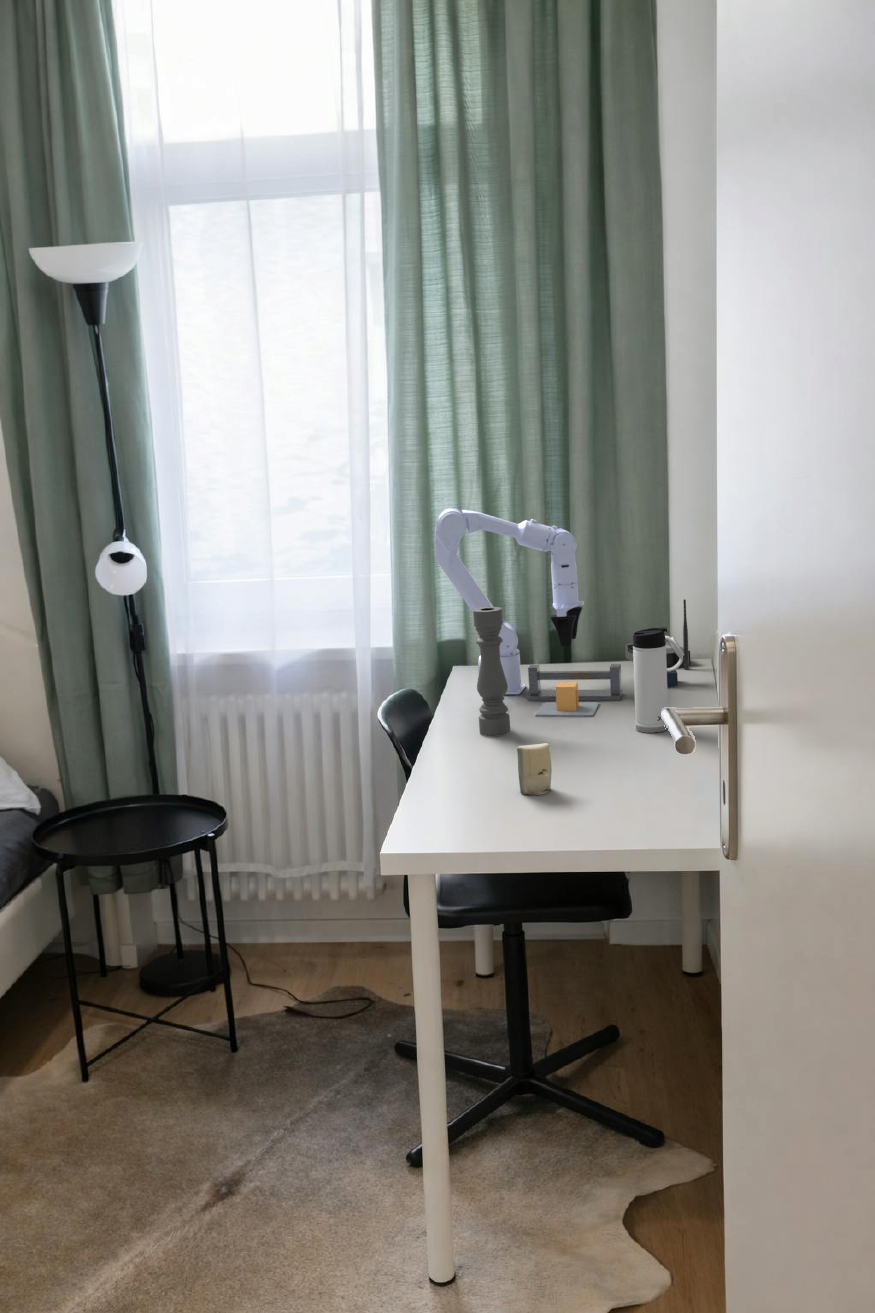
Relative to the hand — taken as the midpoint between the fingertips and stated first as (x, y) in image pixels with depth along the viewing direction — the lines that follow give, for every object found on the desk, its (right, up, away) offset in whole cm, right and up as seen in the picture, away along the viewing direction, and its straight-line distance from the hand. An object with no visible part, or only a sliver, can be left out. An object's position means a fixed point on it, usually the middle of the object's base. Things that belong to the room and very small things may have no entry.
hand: (568, 642), depth 256 cm
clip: (-2, -14, -19) cm, 23 cm away
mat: (-2, -15, -18) cm, 24 cm away
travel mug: (+12, -18, -37) cm, 43 cm away
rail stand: (+1, -12, -8) cm, 15 cm away
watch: (+22, -10, -2) cm, 24 cm away
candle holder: (-18, -19, -31) cm, 41 cm away
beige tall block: (-13, -26, -68) cm, 74 cm away
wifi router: (+25, -5, +19) cm, 32 cm away
